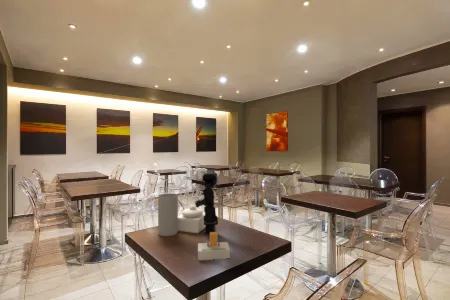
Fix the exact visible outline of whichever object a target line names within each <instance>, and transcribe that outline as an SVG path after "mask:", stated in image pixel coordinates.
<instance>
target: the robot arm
mask: <svg viewBox="0 0 450 300" xmlns="http://www.w3.org/2000/svg"><path fill="white" fill-rule="evenodd" d="M201 182H202V183H201V185H202V186H203V187H204V188H203V190H202V194H203V198H199V199H197V200H195V201H194V204H195V205H194V206H195V207H196V208H199V207H202V206H204V207H203V213H205V216H204V225H206V227H205V228H204V232H203V234H204V235H207V236H210V232H216V226H217V225H218V224H219V219H218V215H217V214H216V206H215V188H216V186H217V183H218V174H217V173H216V172H215V169H207V170H206V172H205V173H203V174H202V179H201Z"/></svg>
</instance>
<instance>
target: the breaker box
mask: <svg viewBox="0 0 450 300" xmlns="http://www.w3.org/2000/svg"><path fill="white" fill-rule="evenodd" d="M209 242H210V241H207V242H203V243H199V242H198V243H197V261H213V259H215V260H227V259H226V258H230V259H231V249H230V245H229V243H228V241H221V242H220V241H217V246H210V244H209Z"/></svg>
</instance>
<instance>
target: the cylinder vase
mask: <svg viewBox="0 0 450 300" xmlns="http://www.w3.org/2000/svg"><path fill="white" fill-rule="evenodd" d="M178 199H179V196H178V194H176V193H169V192H168V193H161V194H158V195H157V215H158V216H157V224H158V225H157V226H158V227H157V229H158V230H157V232H158V233H157V234H158V235H159V236H160V237H171V236H172V237H173V236H174V235H175V236H176V235H177V234H178V232H179V231H178V216H179V214H178V213H179V212H178V211H179V200H178Z"/></svg>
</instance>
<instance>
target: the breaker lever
mask: <svg viewBox="0 0 450 300" xmlns="http://www.w3.org/2000/svg"><path fill="white" fill-rule="evenodd" d="M218 237H219V233H218V231H215V232H210V235H209V241H208V242H209V244H210V246H217V243H218V239H219V238H218Z"/></svg>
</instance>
